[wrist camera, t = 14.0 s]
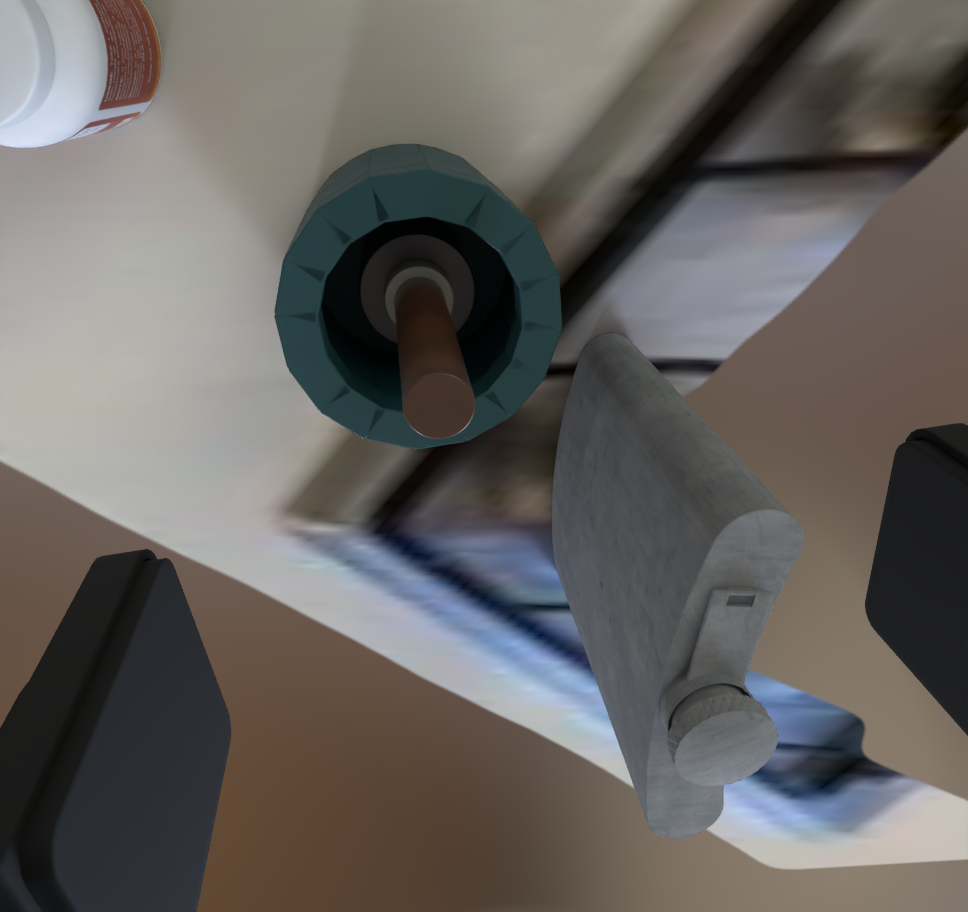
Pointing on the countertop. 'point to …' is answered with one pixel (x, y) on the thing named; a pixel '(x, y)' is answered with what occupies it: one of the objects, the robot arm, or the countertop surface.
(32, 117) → the pill bottle
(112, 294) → the countertop surface
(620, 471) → the hip flask
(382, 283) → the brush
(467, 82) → the countertop surface
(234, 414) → the countertop surface
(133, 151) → the countertop surface
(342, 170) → the jar
